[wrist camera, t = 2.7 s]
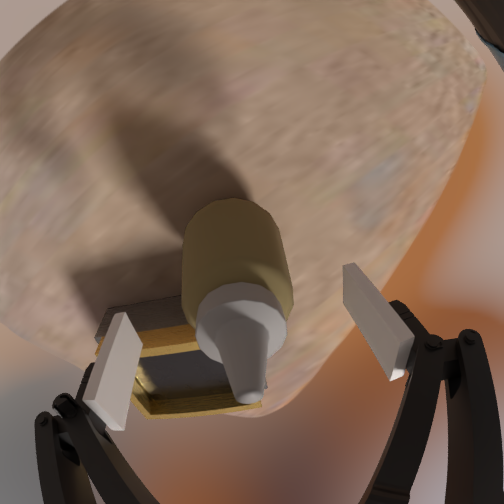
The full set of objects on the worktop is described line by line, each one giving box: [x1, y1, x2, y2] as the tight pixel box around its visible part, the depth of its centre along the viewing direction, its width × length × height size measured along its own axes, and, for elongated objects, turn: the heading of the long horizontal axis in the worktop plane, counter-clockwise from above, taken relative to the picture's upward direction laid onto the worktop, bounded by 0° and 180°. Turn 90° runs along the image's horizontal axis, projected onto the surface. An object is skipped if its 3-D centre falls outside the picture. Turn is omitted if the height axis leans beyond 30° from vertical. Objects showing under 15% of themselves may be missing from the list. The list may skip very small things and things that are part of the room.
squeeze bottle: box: [182, 198, 294, 404], centre depth 18 cm, size 8×8×18 cm
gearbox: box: [94, 295, 268, 419], centre depth 28 cm, size 19×12×8 cm, turn 101°
